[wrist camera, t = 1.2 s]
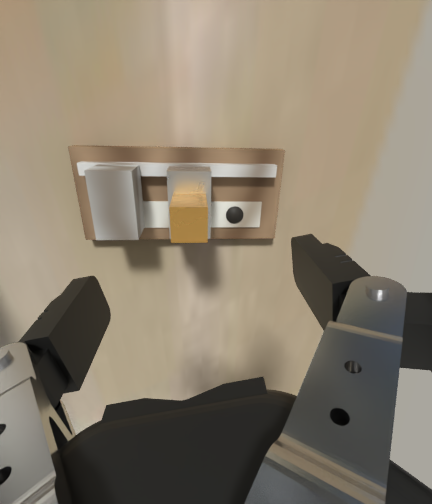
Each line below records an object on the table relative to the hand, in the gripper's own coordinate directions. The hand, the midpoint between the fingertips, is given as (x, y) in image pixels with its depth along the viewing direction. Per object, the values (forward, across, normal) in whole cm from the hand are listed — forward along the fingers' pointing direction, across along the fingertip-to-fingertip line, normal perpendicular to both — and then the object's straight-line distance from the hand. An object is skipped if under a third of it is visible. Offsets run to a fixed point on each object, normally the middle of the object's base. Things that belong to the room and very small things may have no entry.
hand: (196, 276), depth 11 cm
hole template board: (+22, +2, +1) cm, 22 cm away
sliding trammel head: (+20, +1, +1) cm, 20 cm away
